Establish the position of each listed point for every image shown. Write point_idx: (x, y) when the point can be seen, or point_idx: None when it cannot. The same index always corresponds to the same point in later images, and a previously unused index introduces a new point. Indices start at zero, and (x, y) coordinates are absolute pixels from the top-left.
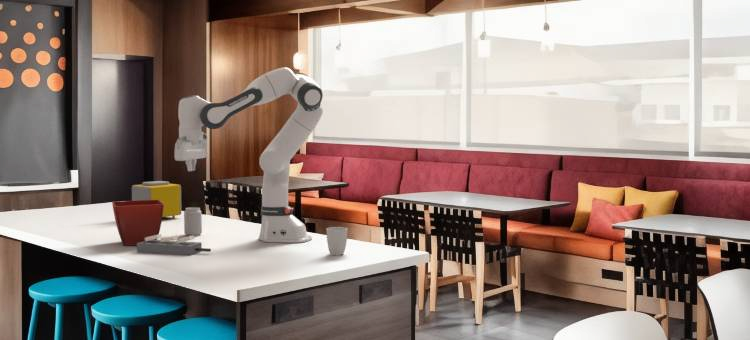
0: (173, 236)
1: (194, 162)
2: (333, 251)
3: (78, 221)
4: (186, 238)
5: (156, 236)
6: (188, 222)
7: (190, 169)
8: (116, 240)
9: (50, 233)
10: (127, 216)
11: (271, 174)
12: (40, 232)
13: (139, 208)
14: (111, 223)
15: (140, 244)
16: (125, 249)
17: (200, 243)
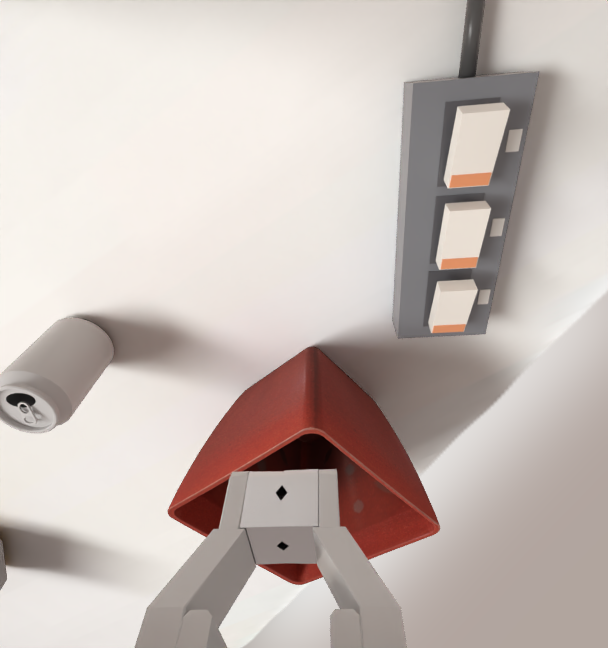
0: (487, 208)
1: (200, 603)
2: None
3: (117, 612)
4: (502, 127)
5: (475, 287)
6: (90, 371)
7: (337, 494)
8: None
9: (271, 586)
10: (404, 469)
11: None
12: (269, 599)
13: (384, 472)
14: (90, 569)
15: (486, 319)
16: (428, 372)
17: (424, 82)
